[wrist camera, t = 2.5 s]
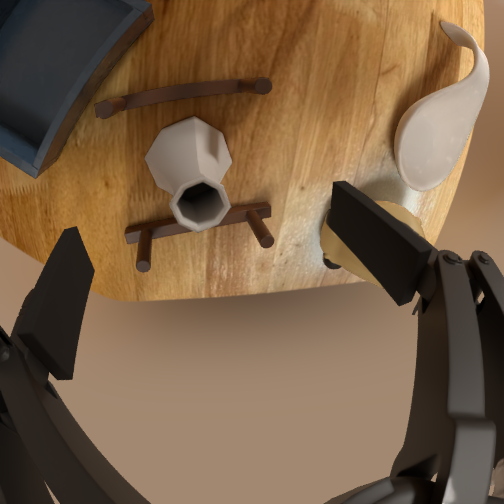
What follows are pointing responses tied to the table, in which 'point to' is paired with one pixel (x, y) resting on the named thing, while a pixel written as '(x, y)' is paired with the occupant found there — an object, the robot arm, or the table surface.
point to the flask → (192, 172)
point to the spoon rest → (441, 122)
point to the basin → (57, 69)
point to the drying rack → (171, 226)
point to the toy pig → (342, 255)
